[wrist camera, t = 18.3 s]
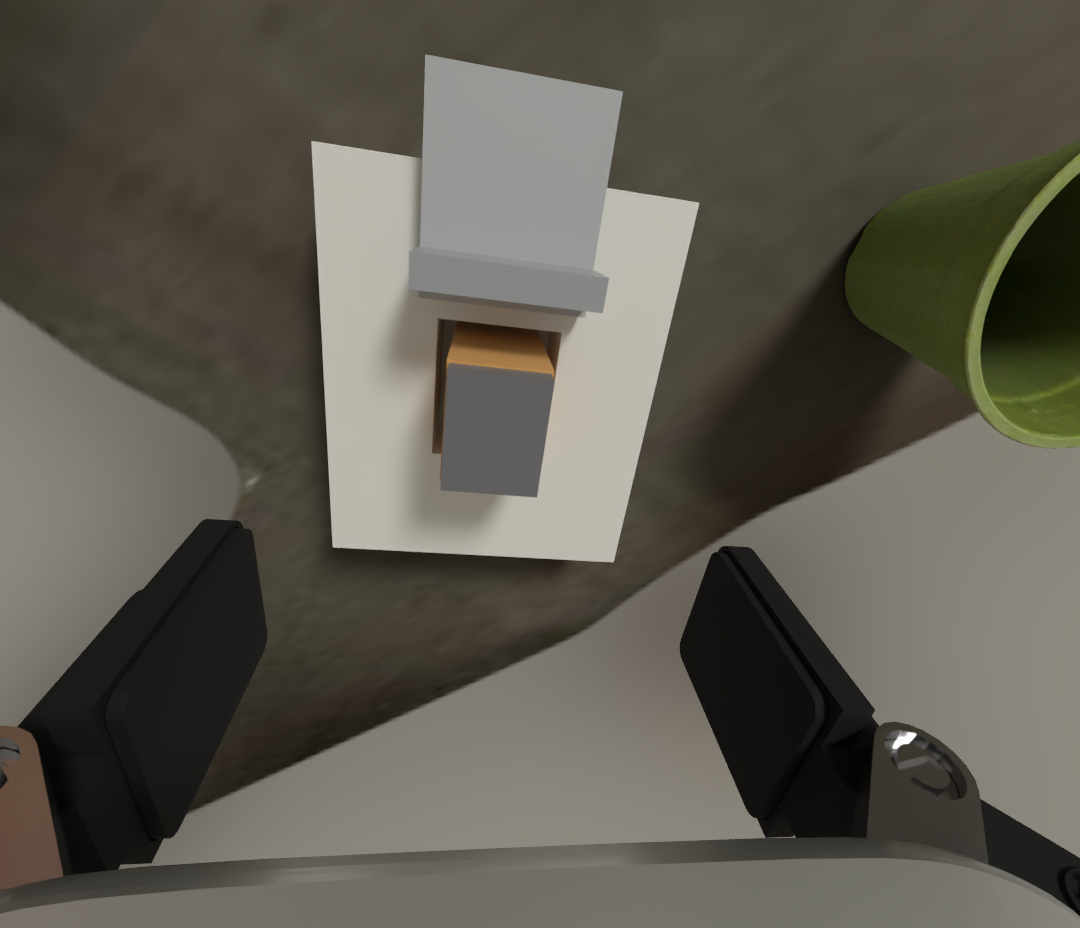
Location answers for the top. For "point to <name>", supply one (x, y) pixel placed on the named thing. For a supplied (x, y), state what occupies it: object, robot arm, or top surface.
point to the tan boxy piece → (495, 410)
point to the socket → (420, 373)
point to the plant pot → (986, 290)
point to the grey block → (512, 189)
